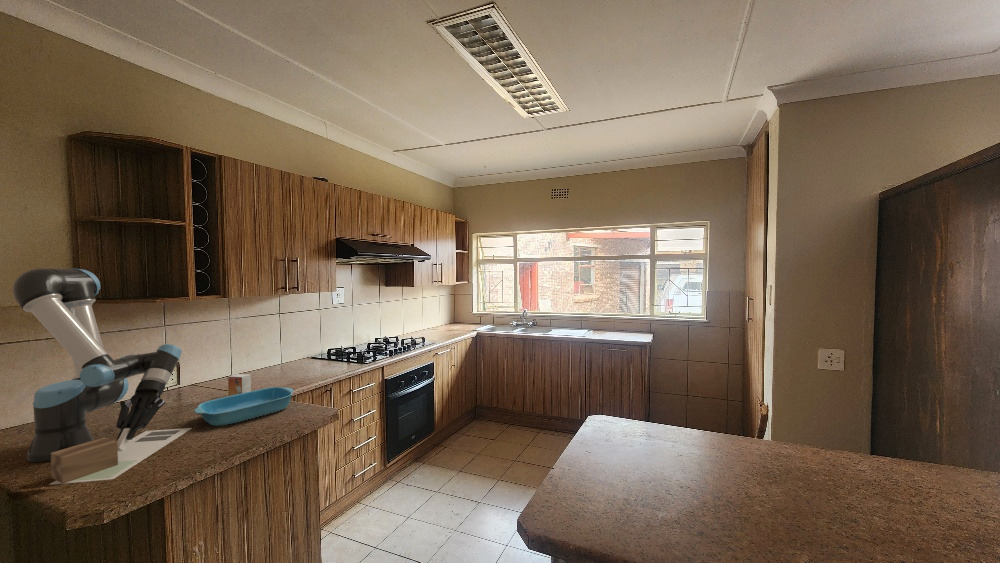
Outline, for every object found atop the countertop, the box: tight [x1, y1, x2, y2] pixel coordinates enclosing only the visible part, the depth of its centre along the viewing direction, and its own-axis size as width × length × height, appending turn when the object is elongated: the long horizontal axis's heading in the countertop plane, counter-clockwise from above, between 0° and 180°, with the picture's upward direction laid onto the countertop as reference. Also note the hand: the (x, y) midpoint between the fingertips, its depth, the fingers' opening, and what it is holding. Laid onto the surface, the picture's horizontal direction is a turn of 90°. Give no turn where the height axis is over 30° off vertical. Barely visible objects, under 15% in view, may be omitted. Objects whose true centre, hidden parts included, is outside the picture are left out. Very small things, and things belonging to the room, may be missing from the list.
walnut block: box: [50, 436, 118, 485], centre depth 118 cm, size 8×12×8 cm, turn 156°
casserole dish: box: [193, 386, 294, 427], centre depth 167 cm, size 37×22×7 cm, turn 141°
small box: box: [227, 373, 252, 396], centre depth 191 cm, size 8×6×10 cm
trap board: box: [48, 427, 193, 487], centre depth 130 cm, size 16×38×1 cm, turn 10°
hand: (118, 449), depth 124 cm, fingers closed
